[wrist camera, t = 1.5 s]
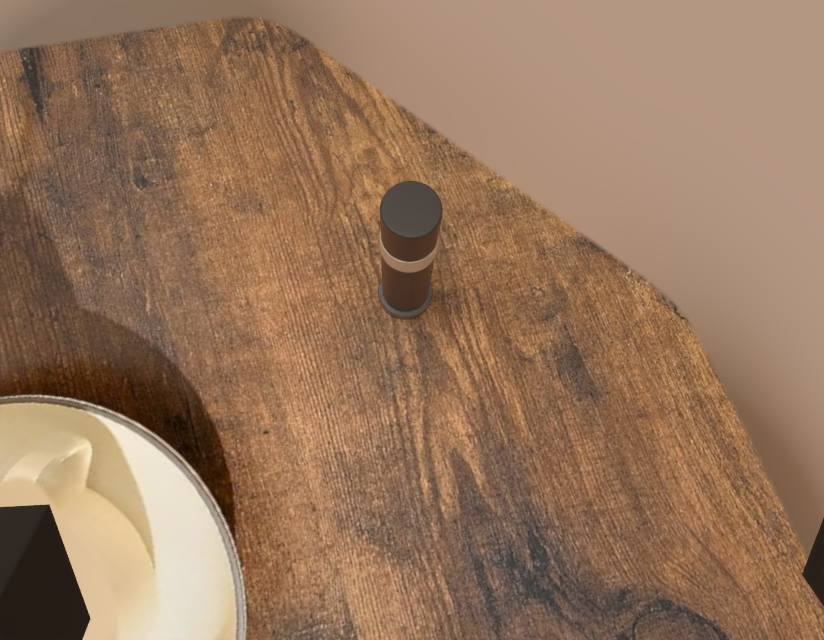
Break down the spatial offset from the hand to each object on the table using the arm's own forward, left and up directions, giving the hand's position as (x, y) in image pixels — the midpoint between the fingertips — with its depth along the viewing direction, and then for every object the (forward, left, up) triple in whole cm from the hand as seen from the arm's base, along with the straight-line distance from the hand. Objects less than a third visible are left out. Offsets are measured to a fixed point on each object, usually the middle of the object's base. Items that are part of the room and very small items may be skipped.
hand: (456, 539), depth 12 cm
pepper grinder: (0, -11, -20) cm, 23 cm away
